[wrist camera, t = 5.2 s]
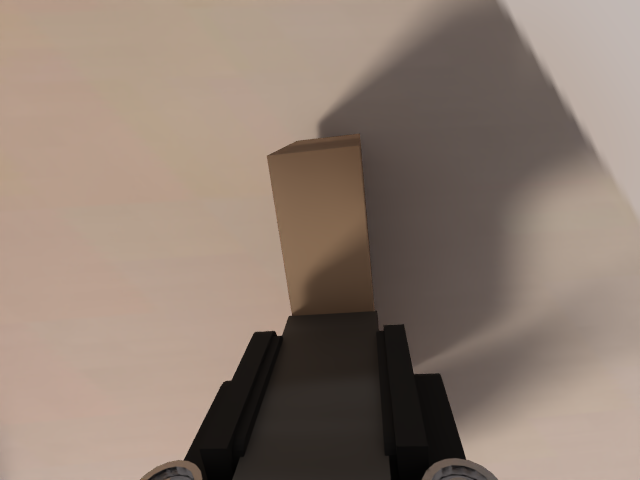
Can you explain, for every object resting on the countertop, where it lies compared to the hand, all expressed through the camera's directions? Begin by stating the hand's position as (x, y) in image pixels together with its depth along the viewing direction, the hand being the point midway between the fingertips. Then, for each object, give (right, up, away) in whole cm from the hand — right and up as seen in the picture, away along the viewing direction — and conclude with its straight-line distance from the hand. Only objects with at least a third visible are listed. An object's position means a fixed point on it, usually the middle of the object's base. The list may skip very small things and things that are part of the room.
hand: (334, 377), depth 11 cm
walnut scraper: (+1, +2, +6) cm, 6 cm away
